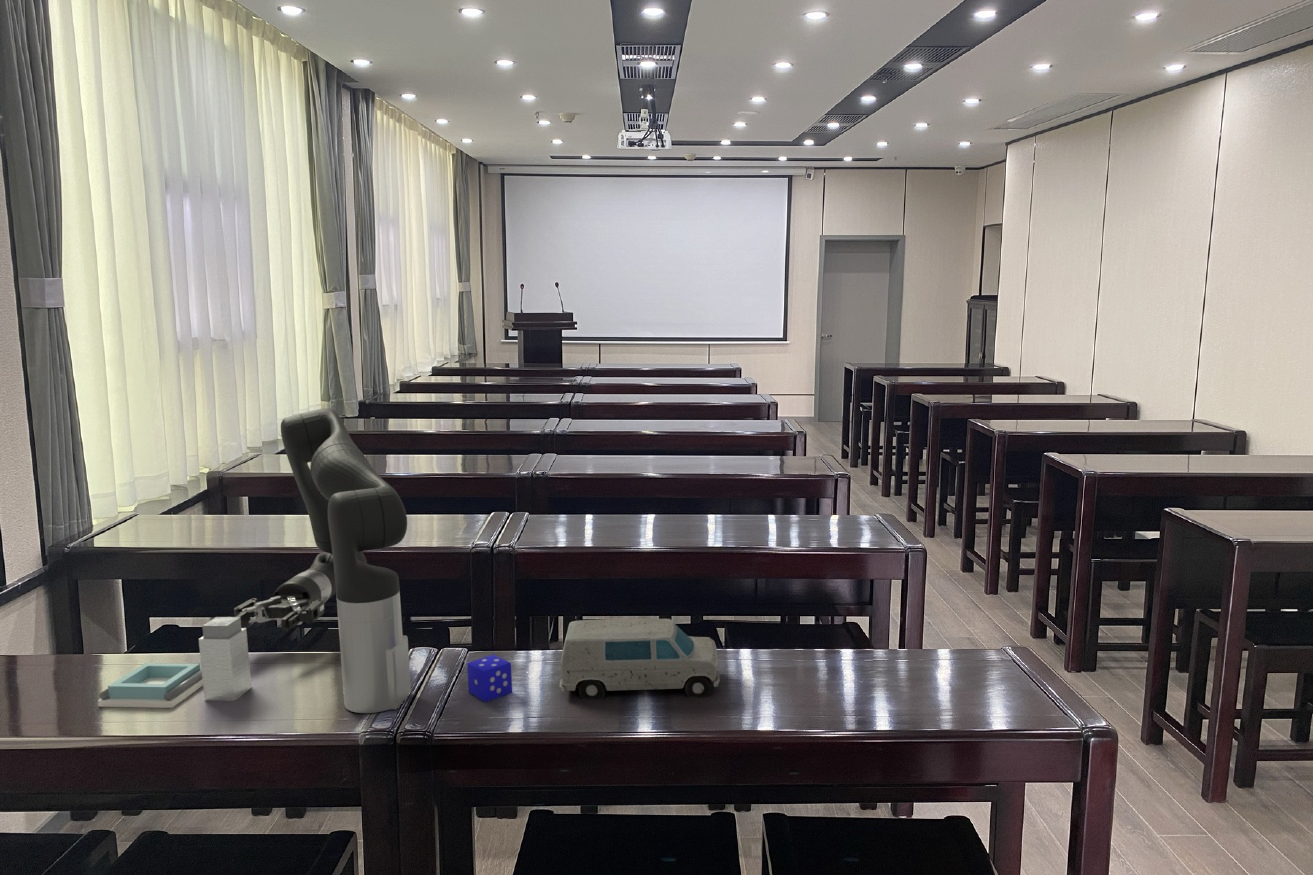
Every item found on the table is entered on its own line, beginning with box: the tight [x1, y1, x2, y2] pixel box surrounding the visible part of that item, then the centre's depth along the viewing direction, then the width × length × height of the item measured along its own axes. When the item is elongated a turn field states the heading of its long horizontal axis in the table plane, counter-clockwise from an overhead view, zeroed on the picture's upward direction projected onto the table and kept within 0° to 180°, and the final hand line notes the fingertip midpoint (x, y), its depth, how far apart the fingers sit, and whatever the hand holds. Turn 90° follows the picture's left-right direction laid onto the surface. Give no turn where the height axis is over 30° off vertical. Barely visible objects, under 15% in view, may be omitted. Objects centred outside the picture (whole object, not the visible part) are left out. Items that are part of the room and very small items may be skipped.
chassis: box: [97, 662, 203, 709], centre depth 150 cm, size 12×11×3 cm
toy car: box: [559, 617, 721, 700], centre depth 149 cm, size 11×25×10 cm, turn 90°
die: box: [466, 654, 513, 703], centre depth 147 cm, size 5×5×5 cm
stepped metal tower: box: [198, 616, 252, 702], centre depth 149 cm, size 5×5×12 cm
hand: (259, 625), depth 160 cm, fingers open, 8 cm apart
